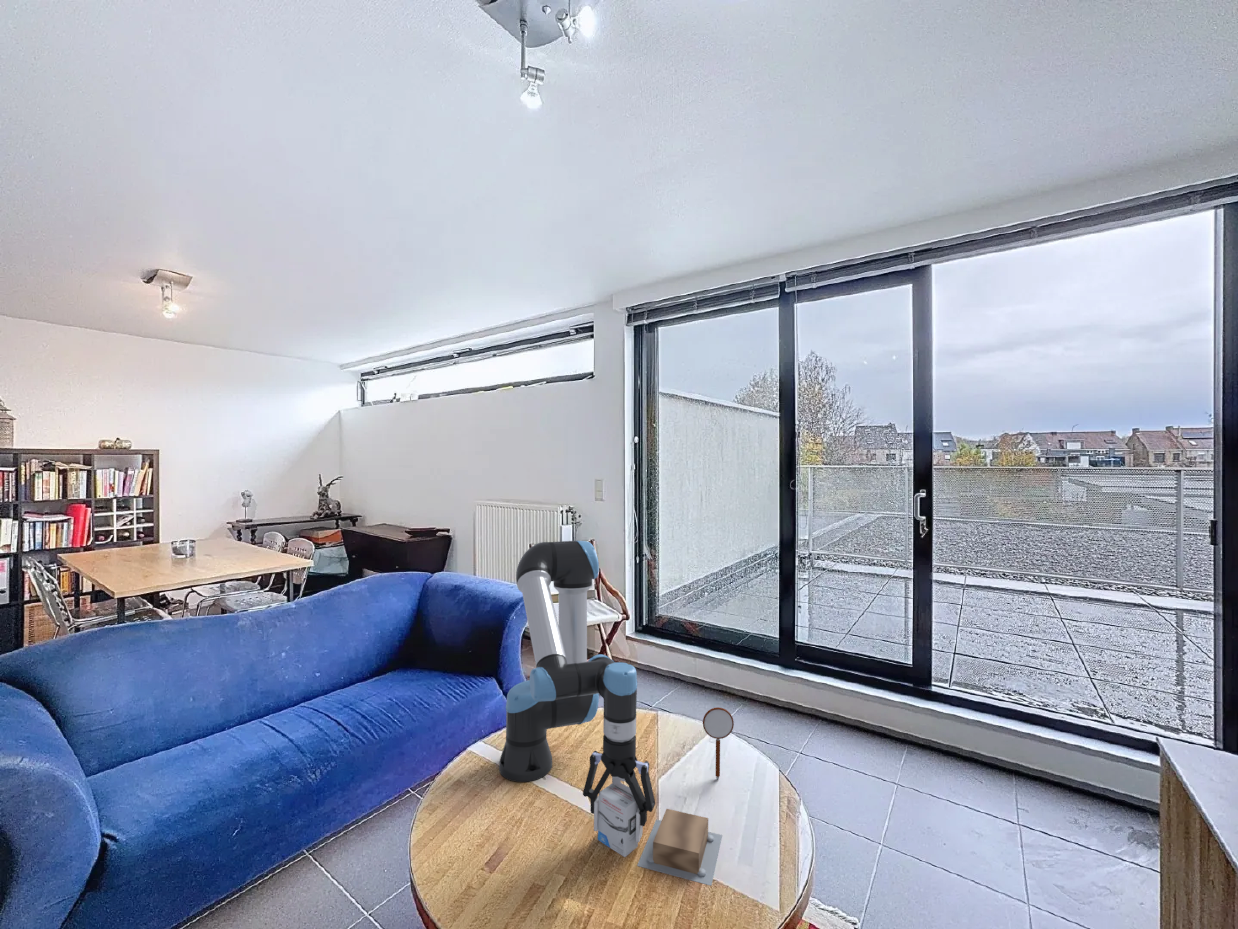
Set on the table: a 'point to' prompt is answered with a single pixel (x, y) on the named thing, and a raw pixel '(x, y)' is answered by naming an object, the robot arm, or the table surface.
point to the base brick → (681, 841)
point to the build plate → (703, 875)
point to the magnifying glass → (718, 729)
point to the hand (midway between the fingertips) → (618, 832)
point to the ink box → (617, 817)
